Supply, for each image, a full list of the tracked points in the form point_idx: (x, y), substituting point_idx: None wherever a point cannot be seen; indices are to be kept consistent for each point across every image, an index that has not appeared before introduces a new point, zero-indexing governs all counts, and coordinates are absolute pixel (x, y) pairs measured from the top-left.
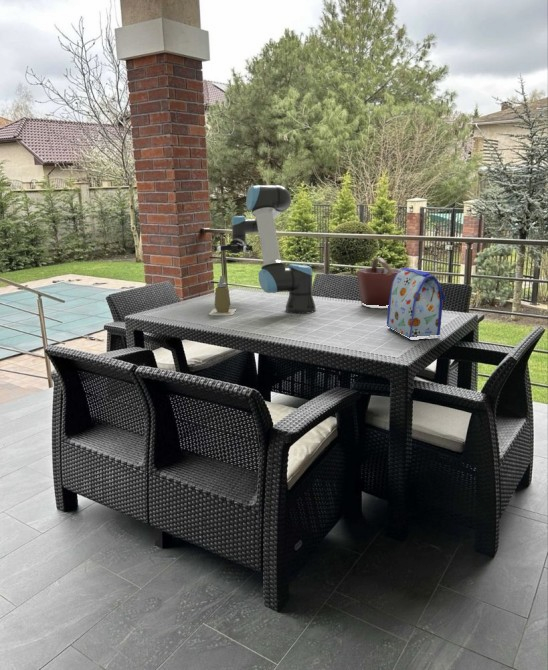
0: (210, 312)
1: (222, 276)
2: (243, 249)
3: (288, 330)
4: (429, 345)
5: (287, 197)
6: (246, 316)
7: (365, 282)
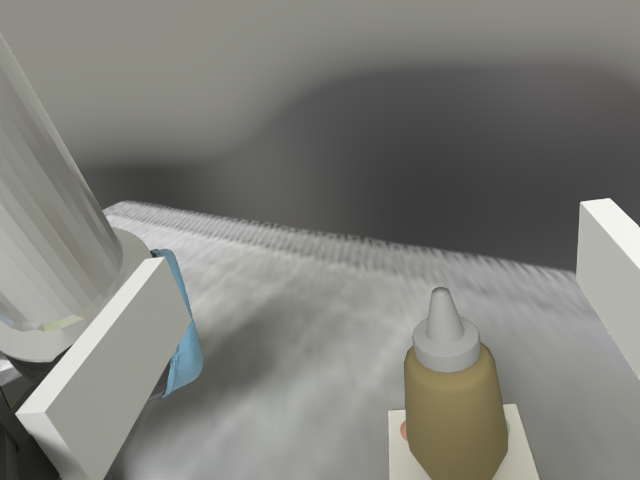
0: (524, 437)
1: (432, 292)
2: (176, 287)
3: (213, 282)
4: None
5: None
6: (323, 402)
7: None
